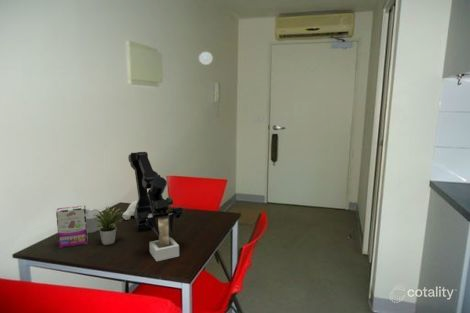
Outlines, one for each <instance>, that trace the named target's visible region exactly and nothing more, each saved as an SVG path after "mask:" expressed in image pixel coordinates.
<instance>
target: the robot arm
mask: <svg viewBox="0 0 470 313" xmlns="http://www.w3.org/2000/svg"><path fill="white" fill-rule="evenodd" d="M148 156H149V154H148V152H146V151H138V152H130V154H128V162H129V163H130V167H131V168H132V169H133V171H134V175H135V183H136V189H137V190H136V191H137V196H138V200H137V201H138V202H137V204H136V208H135V211H134V215H133V216H134V218H135V221H136V225H137V232H138V233H139V232H150V231H151V232H152V231H153V232H154V233H155V234H156V235H157V236H158V237H159V229H158V225H157V224H158V223H157V221H156V219H159V218H162V217H167V218H168V226H169V234H172V233H173V225H174V224H173V223H174V221H175V220H176V219H181V218H182V216H183V214H184V212H185V211H184V208H183V207H182V206H177V207H172V210H169V208H170V206H172V205H173V204H174V202H173V201H174V199H173V197H172V196H169V197H166V198H163V193H164V191H165V189H166V186H167V183H168V182H167V180H166V179H165V178H164V177H162V176H161V175H160V174H158V172H157V171H155V170H154V169H153V167H152V164H151V162H150V159H149V157H148Z"/></svg>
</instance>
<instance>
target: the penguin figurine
mask: <svg viewBox="0 0 470 313" xmlns="http://www.w3.org/2000/svg"><path fill="white" fill-rule="evenodd" d="M137 202H138V200H134V201H132V202H131V203H130V204H129V205H128V207H127V209H126V211H123V212H122V215H124V216H122V219H123V220H125V221H127V220H131V216H134V211H135V208H136V204H137Z"/></svg>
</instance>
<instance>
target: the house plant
mask: <svg viewBox="0 0 470 313" xmlns="http://www.w3.org/2000/svg"><path fill="white" fill-rule="evenodd" d="M115 208H116V207H113V208H112V209H111V210H110V207H109V206H105V214H104V212H102V211H100V210H98V212H99V213H100V215H101V217H102V218H101V217H100V216H98V215H95V216H97V217H98V218H99V219H100V220H99V219H95V221H98V222H100V223H101V224H102V228H100V229H99V230H98V231H99V235H100V239H101V244H102V245H113V244H114V243H115V241H116V232H117V226H116V224H117V223H123V221H124V218H122V219H121V218H120V217H123V216H124V215H123V211H121V212H118V211H120V210H121V209H122V208H118V209H117V210H115ZM114 210H115V211H114ZM113 211H114V212H113ZM101 212H102V213H101ZM96 214H97V213H96ZM103 214H104V215H103ZM92 216H93V215H92ZM122 220H123V221H122ZM101 224H97V225H96V226H97V227H100V225H101Z"/></svg>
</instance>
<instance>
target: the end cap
mask: <svg viewBox="0 0 470 313" xmlns="http://www.w3.org/2000/svg"><path fill="white" fill-rule="evenodd" d="M149 253H150V255H151V256H152V257H153V259H154V260H155V262H160V261H165V260H168V259H173V258H177V257H180V245H179V244H178V243H177V242H176V241H175V240H174V239H173V238H172V237H169V246H168V247H163V248H159V239H157V240H152V241H149Z"/></svg>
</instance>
